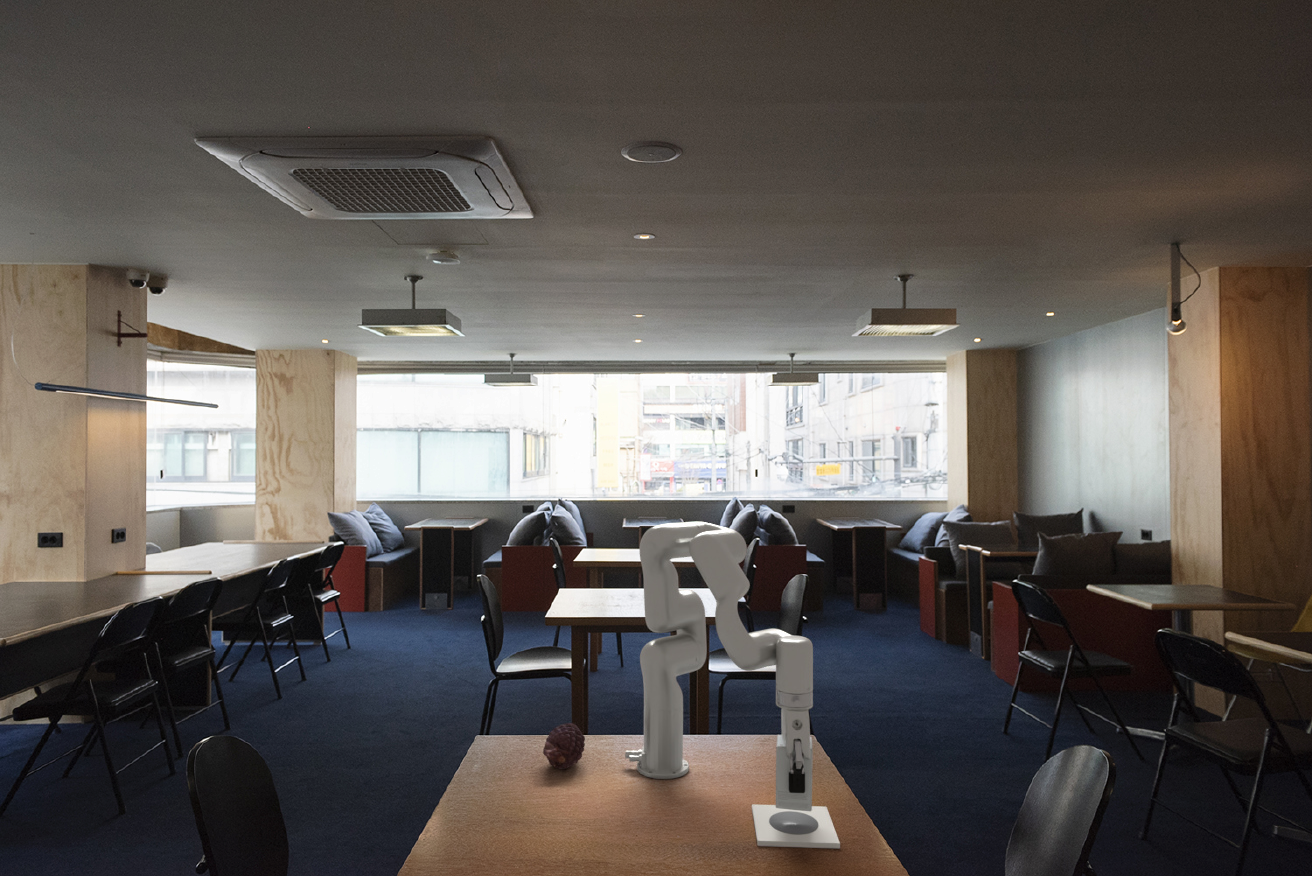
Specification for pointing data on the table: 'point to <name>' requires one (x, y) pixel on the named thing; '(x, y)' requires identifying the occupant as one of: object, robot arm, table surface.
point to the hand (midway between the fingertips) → (794, 783)
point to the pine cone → (564, 746)
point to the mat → (794, 827)
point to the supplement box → (782, 780)
